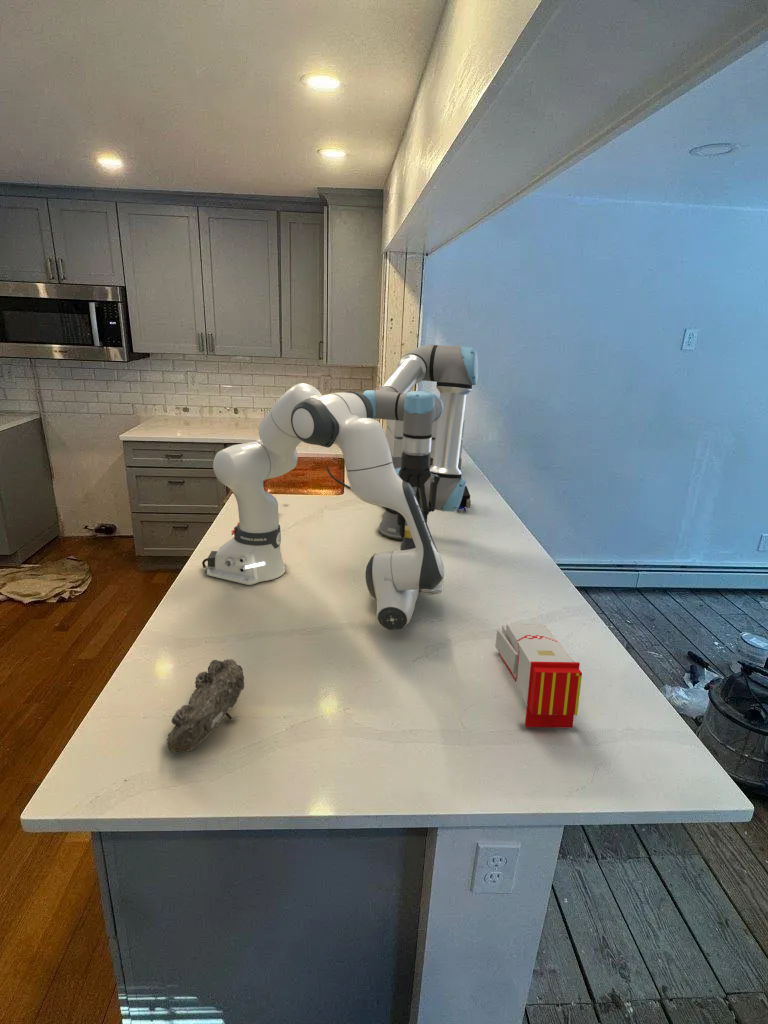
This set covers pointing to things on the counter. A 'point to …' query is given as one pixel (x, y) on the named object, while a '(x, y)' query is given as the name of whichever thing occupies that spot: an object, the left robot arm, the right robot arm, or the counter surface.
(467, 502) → the figurine character
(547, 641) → the toy
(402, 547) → the bottle
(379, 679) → the counter surface
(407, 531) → the cap
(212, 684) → the fossil
